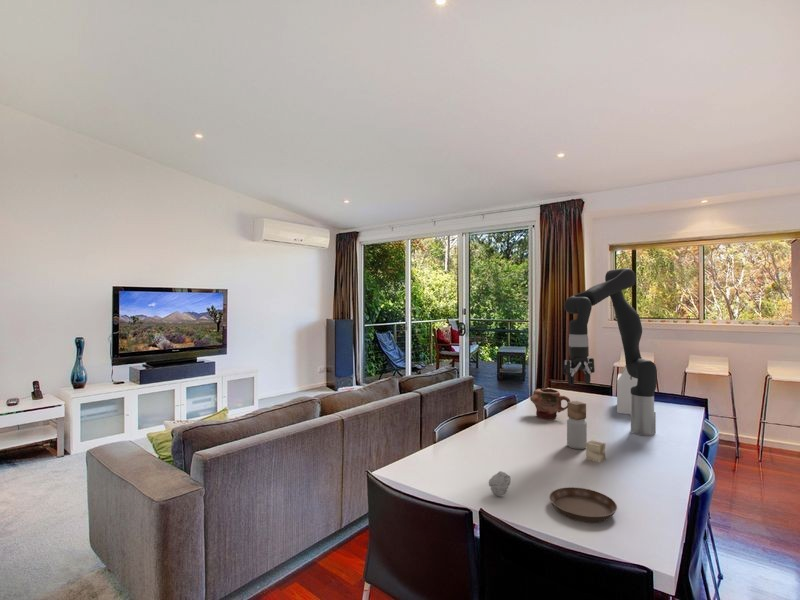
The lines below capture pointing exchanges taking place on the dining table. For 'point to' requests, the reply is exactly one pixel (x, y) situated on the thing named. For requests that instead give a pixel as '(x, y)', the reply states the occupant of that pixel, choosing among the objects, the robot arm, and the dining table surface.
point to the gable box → (624, 391)
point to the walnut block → (576, 410)
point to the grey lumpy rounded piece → (500, 483)
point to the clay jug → (548, 403)
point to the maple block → (595, 451)
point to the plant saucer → (583, 504)
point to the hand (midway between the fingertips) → (579, 384)
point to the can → (576, 433)
